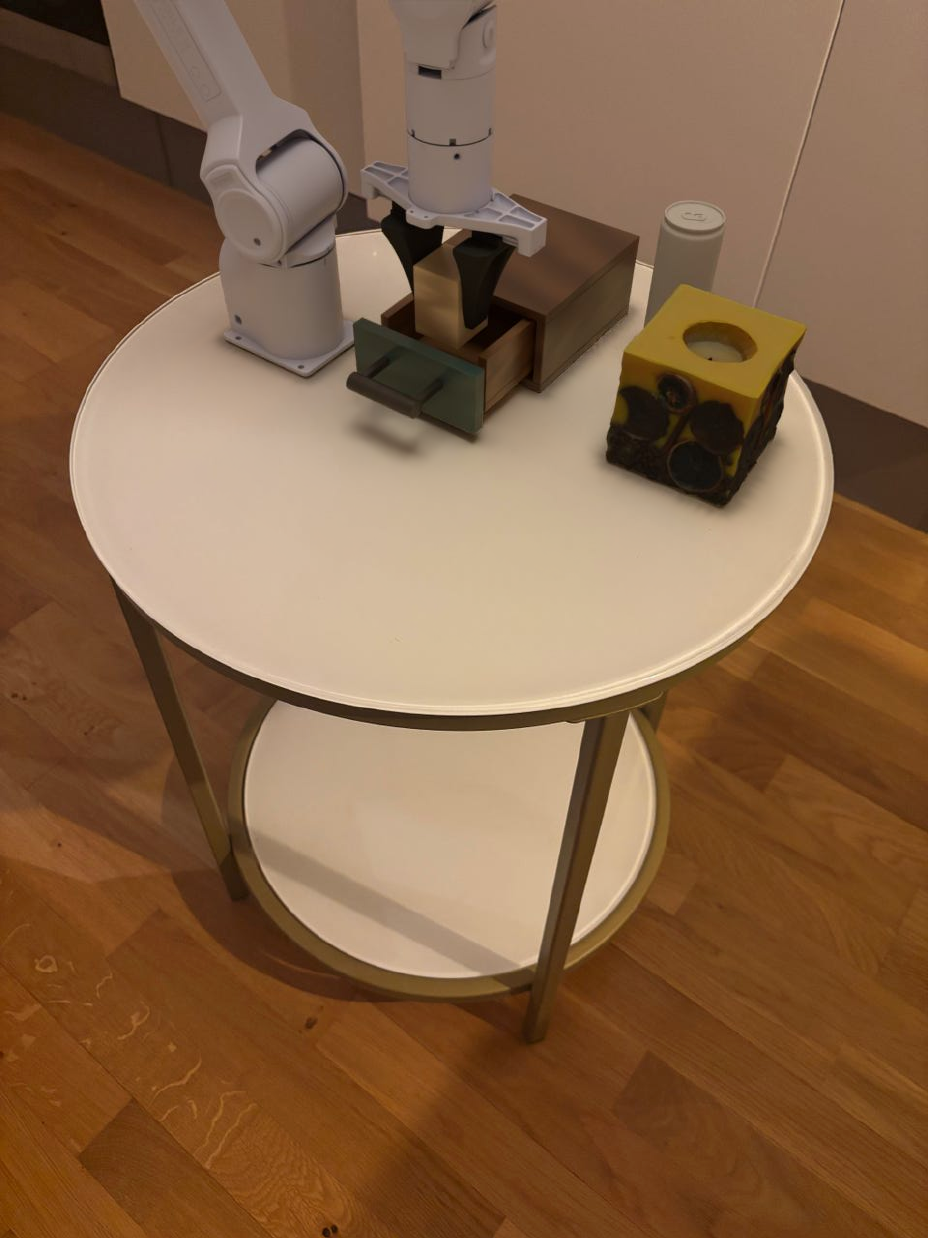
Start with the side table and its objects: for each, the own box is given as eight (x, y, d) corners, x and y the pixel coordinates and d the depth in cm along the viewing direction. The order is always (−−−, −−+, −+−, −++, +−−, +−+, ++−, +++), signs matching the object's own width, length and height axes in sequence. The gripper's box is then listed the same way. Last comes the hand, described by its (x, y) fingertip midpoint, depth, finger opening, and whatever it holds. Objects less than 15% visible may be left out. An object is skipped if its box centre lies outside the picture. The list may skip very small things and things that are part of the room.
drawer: (441, 465, 71) (440, 406, 67) (322, 408, 76) (315, 349, 72) (567, 351, 81) (573, 293, 77) (455, 306, 85) (456, 249, 81)
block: (415, 331, 75) (412, 265, 70) (445, 308, 77) (445, 242, 73) (457, 349, 73) (457, 282, 69) (487, 325, 75) (489, 258, 71)
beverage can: (695, 371, 81) (726, 233, 71) (637, 364, 81) (660, 226, 72) (698, 338, 84) (728, 202, 75) (642, 332, 84) (665, 196, 75)
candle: (657, 392, 79) (679, 279, 71) (776, 435, 75) (813, 321, 68) (599, 461, 73) (616, 347, 66) (725, 512, 70) (758, 397, 62)
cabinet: (539, 393, 79) (546, 315, 73) (415, 340, 83) (412, 263, 78) (628, 311, 86) (640, 235, 81) (510, 267, 91) (513, 192, 86)
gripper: (325, 119, 64) (343, 304, 74) (508, 181, 59) (500, 371, 69) (391, 84, 68) (400, 265, 78) (570, 139, 62) (553, 325, 73)
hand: (450, 312), depth 74 cm, fingers closed on block, 4 cm apart
